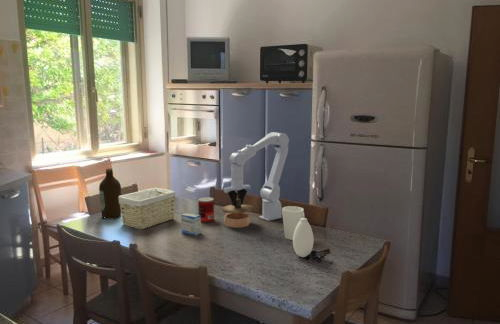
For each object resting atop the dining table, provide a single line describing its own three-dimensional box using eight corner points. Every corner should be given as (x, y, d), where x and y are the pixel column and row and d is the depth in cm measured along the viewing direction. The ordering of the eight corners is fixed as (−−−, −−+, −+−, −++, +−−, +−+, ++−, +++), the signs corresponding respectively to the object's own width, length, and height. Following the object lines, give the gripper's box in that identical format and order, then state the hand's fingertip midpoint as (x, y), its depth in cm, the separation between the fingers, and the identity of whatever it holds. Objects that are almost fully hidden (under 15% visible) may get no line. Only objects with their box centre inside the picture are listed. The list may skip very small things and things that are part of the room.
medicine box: (181, 233, 193) (180, 214, 192) (187, 230, 197) (186, 212, 196) (195, 235, 190) (195, 217, 188) (201, 233, 193) (200, 214, 192)
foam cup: (301, 241, 182) (302, 212, 180) (280, 240, 184) (280, 211, 182) (303, 234, 192) (304, 206, 190) (283, 233, 193) (283, 205, 191)
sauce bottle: (299, 251, 171) (300, 208, 168) (316, 255, 166) (317, 211, 163) (288, 256, 165) (289, 212, 162) (306, 261, 160) (307, 216, 158)
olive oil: (119, 212, 226) (117, 166, 222) (124, 217, 217) (121, 169, 213) (99, 215, 221) (96, 168, 217) (102, 220, 212) (99, 171, 208)
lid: (245, 205, 216) (244, 195, 215) (258, 210, 202) (258, 200, 202) (217, 208, 209) (217, 198, 209) (230, 214, 196) (229, 203, 195)
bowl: (239, 218, 216) (239, 211, 215) (254, 224, 206) (254, 216, 206) (220, 222, 209) (220, 215, 208) (234, 229, 199) (234, 220, 199)
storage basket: (140, 231, 196) (138, 200, 193) (118, 225, 205) (116, 195, 203) (177, 219, 215) (176, 190, 213) (155, 214, 224) (154, 186, 222)
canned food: (215, 218, 217) (215, 197, 215) (212, 222, 209) (212, 201, 207) (200, 217, 217) (200, 196, 216) (197, 222, 210) (196, 200, 208)
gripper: (244, 174, 211) (244, 201, 213) (220, 178, 202) (220, 205, 205) (253, 176, 206) (253, 204, 208) (228, 180, 197) (228, 208, 199)
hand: (237, 205), depth 206 cm, fingers closed on lid, 3 cm apart
